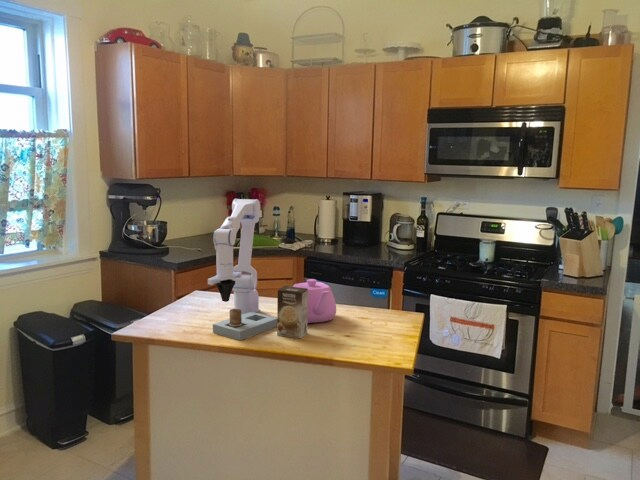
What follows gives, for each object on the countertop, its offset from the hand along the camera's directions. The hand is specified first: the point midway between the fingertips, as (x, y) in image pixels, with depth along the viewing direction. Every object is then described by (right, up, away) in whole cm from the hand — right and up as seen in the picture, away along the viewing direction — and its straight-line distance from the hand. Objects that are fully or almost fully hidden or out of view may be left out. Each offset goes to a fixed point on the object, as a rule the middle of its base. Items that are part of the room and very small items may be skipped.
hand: (225, 301), depth 185 cm
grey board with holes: (+7, -10, 0) cm, 12 cm away
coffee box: (+24, -11, -4) cm, 26 cm away
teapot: (+30, -9, +13) cm, 34 cm away
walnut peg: (+4, -11, -4) cm, 12 cm away
